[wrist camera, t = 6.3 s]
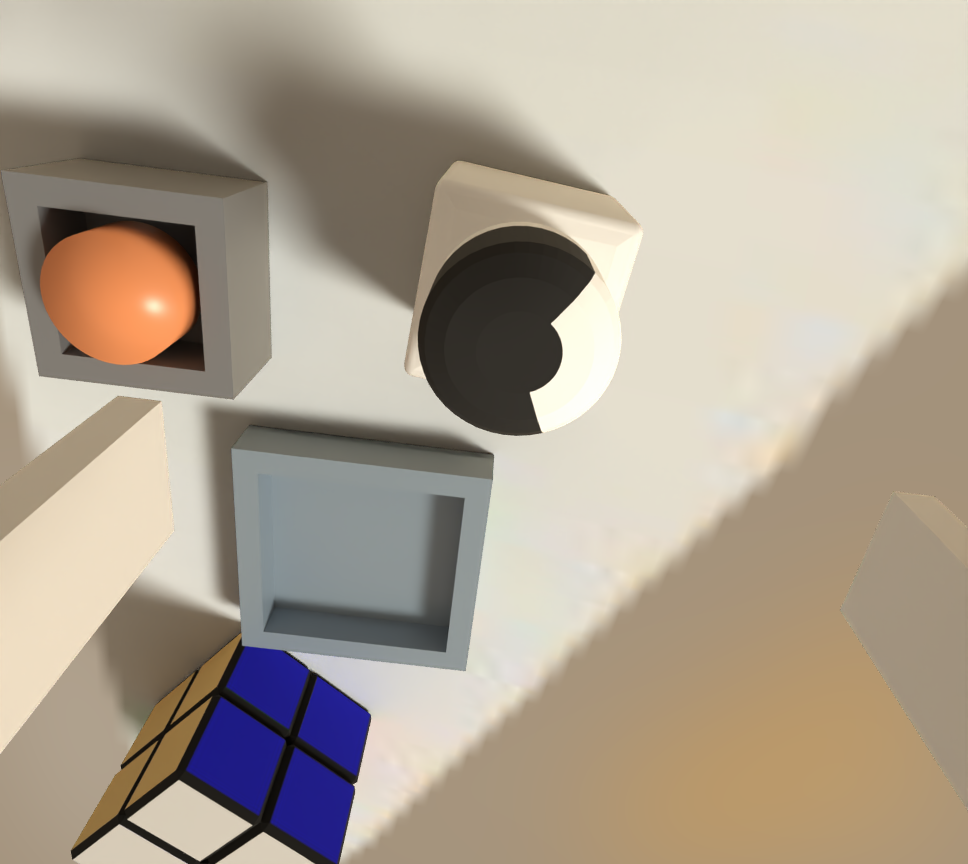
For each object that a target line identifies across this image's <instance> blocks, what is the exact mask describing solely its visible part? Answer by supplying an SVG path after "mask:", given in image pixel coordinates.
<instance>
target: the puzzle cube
mask: <svg viewBox="0 0 968 864" xmlns="http://www.w3.org/2000/svg"><path fill="white" fill-rule="evenodd" d="M370 722H371V714H369V713H368V712H366V711H365V710H364V709H362V708H361V707H360V706H358V705H357V704H355V703H354V702H353V701H351V700H350V699H348V698H347V697H346V696H344V695H343V694H341V693H340V692H339V691H337V690H336V689H335V688H333V687H332V686H330V685H329V684H328V683H326V682H325V681H323V680H322V679H321V678H319V677H318V676H317V675H313V676H310V670H309V669H307V668H306V667H304V666H303V665H302V664H300V663H299V662H297V661H296V660H295V659H293V658H292V657H290V656H289V655H288V654H286V653H285V652H284V651H282V650H276V649H267V648H258V647H249V646H242V633H240V634H239V635H238V636H237V637H235V638H234V639H233V640H232V641H231V642H230V643H228V644H227V645H226V646H225V647H224V648H222V649H221V650H220V651H219V652H218V653H217V654H215V655H214V656H213V657H212V658H211V659H209V660H208V661H207V662H206V663H205V664H204V665H202V667H201V669H200V670H199V671H195V672H194V673H193V674H192V675H190V676H189V677H188V678H187V679H186V680H185V681H183V682H182V683H181V684H180V685H179V686H178V687H176V688H175V689H174V690H173V691H172V692H170V693H169V694H168V695H167V696H166V697H165V698H163V699H162V700H161V701H160V702H159V703H158V704H156V705H155V707H154V709H153V710H152V712H151V714H150V716H149V717H148V719H147V721H146V723H145V724H144V726H143V728H142V729H141V731H140V733H139V735H138V736H137V738H136V740H135V742H134V743H133V745H132V747H131V748H130V750H129V752H128V754H127V755H126V757H125V759H124V761H123V762H122V764H121V769H122V770H121V771H120V772H118V773H117V774H116V775H115V776H114V778H113V780H112V782H111V783H110V785H109V786H108V788H107V790H106V792H105V793H104V795H103V797H102V798H101V800H100V802H99V804H98V805H97V807H96V809H95V810H94V812H93V814H92V816H91V817H90V819H89V821H88V822H87V824H86V826H85V827H84V829H83V831H82V833H81V834H80V836H79V838H78V839H77V841H76V843H75V844H74V846H73V848H72V850H71V854H72V859H73V861H75V862H77V863H79V864H339V862H340V857H341V853H342V848H343V844H344V839H345V835H346V830H347V826H348V821H349V817H350V812H351V808H352V803H353V799H354V795H355V787H354V786H353V784H354V783H356V782H357V780H358V776H359V771H360V767H361V762H362V758H363V753H364V749H365V744H366V740H367V735H368V731H369V726H370Z"/></svg>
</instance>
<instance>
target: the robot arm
mask: <svg viewBox="0 0 968 864" xmlns="http://www.w3.org/2000/svg"><path fill="white" fill-rule="evenodd" d="M173 532H174V523H173V512H172V502H171V492H170V482H169V472H168V462H167V452H166V442H165V431H164V421H163V411H162V401H156V400H148V399H140V398H132V397H124V396H117V397H116V398H114V399H113V400H112V401H110V402H109V403H108V404H106V405H105V406H104V407H103V408H101V409H100V410H99V411H97V412H96V413H95V414H93V415H92V416H91V417H89V418H88V419H87V420H85V421H84V422H83V423H81V424H80V425H79V426H77V427H76V428H75V429H74V430H72V431H71V432H70V433H68V434H67V435H66V436H64V437H63V438H62V439H60V440H59V441H58V442H56V443H55V444H54V445H52V446H51V447H50V448H48V449H47V450H46V451H45V452H43V453H42V454H41V455H39V456H38V457H37V458H35V459H34V460H33V461H31V462H30V463H29V464H27V465H26V466H25V467H23V468H22V469H21V470H19V471H18V472H17V473H16V474H14V475H13V476H12V477H10V478H9V479H8V480H6V481H5V482H4V483H2V484H1V485H0V754H1V752H2V751H3V750H4V748H5V747H6V746H7V744H8V743H9V742H10V741H11V739H12V738H13V737H14V735H15V734H16V733H17V732H18V730H19V729H20V728H21V727H22V725H23V724H24V723H25V721H26V720H27V719H28V718H29V716H30V715H31V714H32V712H33V711H34V710H35V709H36V707H37V706H38V705H39V703H40V702H41V701H42V700H43V698H44V697H45V696H46V695H47V693H48V692H49V690H50V689H51V688H52V687H53V686H54V684H55V683H56V682H57V680H58V679H59V678H60V677H61V675H62V674H63V673H64V671H65V670H66V669H67V667H68V666H69V665H70V664H71V662H72V661H73V660H74V659H75V657H76V656H77V655H78V653H79V652H80V651H81V650H82V648H83V647H84V646H85V644H86V643H87V642H88V641H89V639H90V638H91V637H92V635H93V634H94V633H95V632H96V630H97V629H98V628H99V627H100V625H101V624H102V623H103V621H104V620H105V619H106V618H107V616H108V615H109V614H110V612H111V611H112V610H113V609H114V607H115V606H116V605H117V603H118V602H119V601H120V600H121V598H122V597H123V596H124V594H125V593H126V592H127V591H128V589H129V588H130V587H131V585H132V584H133V583H134V582H135V580H136V579H137V578H138V576H139V575H140V574H141V573H142V571H143V570H144V569H145V567H146V566H147V565H148V564H149V562H150V561H151V560H152V559H153V557H154V556H155V555H156V553H157V552H158V551H159V550H160V548H161V547H162V546H163V544H164V543H165V542H166V541H167V539H168V538H169V537H170V535H171V534H172V533H173ZM840 611H841V613H842V614H843V616H844V617H845V619H846V621H847V622H848V624H849V625H850V627H851V628H852V630H853V632H854V633H855V635H856V636H857V638H858V639H859V641H860V643H861V644H862V646H863V647H864V649H865V650H866V652H867V654H868V655H869V657H870V658H871V660H872V661H873V663H874V665H875V666H876V668H877V669H878V671H879V672H880V674H881V676H882V677H883V678H884V680H885V682H886V683H887V685H888V686H889V688H890V690H891V691H892V693H893V694H894V696H895V698H896V699H897V701H898V702H899V704H900V705H901V707H902V708H903V710H904V712H905V713H906V715H907V716H908V718H909V720H910V721H911V723H912V724H913V726H914V727H915V729H916V731H917V732H918V734H919V735H920V737H921V738H922V740H923V742H924V743H925V745H926V746H927V748H928V749H929V751H930V753H931V754H932V756H933V757H934V759H935V760H936V762H937V764H938V765H939V767H940V768H941V769H942V771H943V773H944V775H945V776H946V778H947V779H948V781H949V782H950V784H951V786H952V787H953V789H954V790H955V792H956V793H957V795H958V797H959V798H960V800H961V801H962V803H963V804H964V806H965V807H966V809H967V811H968V528H967V526H966V525H965V524H964V523H962V522H961V521H960V520H959V519H958V518H957V517H956V516H955V515H954V514H953V513H952V512H951V511H950V510H949V509H948V508H947V507H946V506H945V505H944V504H942V503H941V502H940V501H939V500H938V499H937V498H936V497H935V496H928V495H920V494H912V493H903V492H896V491H893V492H892V495H891V497H890V499H889V501H888V504H887V506H886V508H885V510H884V513H883V515H882V517H881V519H880V521H879V524H878V526H877V528H876V530H875V533H874V535H873V537H872V540H871V542H870V544H869V546H868V548H867V550H866V553H865V555H864V557H863V559H862V562H861V564H860V566H859V568H858V571H857V573H856V575H855V577H854V580H853V582H852V584H851V586H850V588H849V591H848V593H847V595H846V597H845V600H844V602H843V604H842V606H841V609H840Z"/></svg>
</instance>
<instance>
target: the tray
mask: <svg viewBox="0 0 968 864" xmlns="http://www.w3.org/2000/svg"><path fill="white" fill-rule="evenodd" d="M231 453H232V471H233V489H234V507H235V525H236V543H237V561H238V579H239V597H240V615H241V633H242V646H249V647H258V648H267V649H276V650H284V651H293V652H302V653H311V654H320V655H328V656H337V657H346V658H355V659H363V660H372V661H381V662H390V663H398V664H407V665H416V666H425V667H434V668H442V669H451V670H460V671H466V665H467V658H468V650H469V643H470V636H471V629H472V622H473V615H474V608H475V601H476V594H477V587H478V580H479V573H480V566H481V559H482V552H483V545H484V537H485V530H486V523H487V516H488V509H489V502H490V495H491V488H492V481H493V463H494V455H493V454H484V453H476V452H468V451H459V450H451V449H443V448H434V447H426V446H418V445H409V444H401V443H393V442H384V441H376V440H368V439H359V438H351V437H343V436H334V435H326V434H318V433H309V432H301V431H293V430H284V429H276V428H268V427H259V426H251V425H249V427H248V428H247V429H246V430H245V432H244V433H243V434H242V435H241V437H240V438H239V439H238V440H237V442H236V443H235V444H234V446H233V447H232V448H231Z"/></svg>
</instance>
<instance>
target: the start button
mask: <svg viewBox="0 0 968 864" xmlns="http://www.w3.org/2000/svg"><path fill="white" fill-rule="evenodd" d="M40 290H41V296H42V300H43V303H44V306H45V309H46V311H47V313H48V315H49V317H50V319H51V321H52V322H53V324H54V325H55V327H56V328H57V329H58V330H59V332H60V333H61V334H62V335H63V336H64V337H65V338H66V339H67V340H68V341H69V342H70V343H71V344H72V345H74V346H75V347H76V348H78V349H79V350H81V351H82V352H84V353H85V354H87V355H89V356H91V357H93V358H95V359H98V360H100V361H104V362H107V363H112V364H118V365H132V364H138V363H142V362H145V361H148V360H150V359H152V358H154V357H155V356H157V355H158V354H159V353H161V352H162V351H163V350H165V349H166V348H167V347H169V346H170V345H172V344H173V343H174V342H176V341H177V340H178V339H180V338H181V337H182V336H184V335H185V334H186V333H188V332H189V331H190V330H191V329H192V328H193V326H194V325H195V324H196V322H197V320H198V318H199V316H200V314H201V305H200V291H199V277H198V269H197V267H196V265H195V264H194V262H193V260H192V258H191V257H190V256H189V254H188V253H187V251H186V250H185V249H184V248H183V247H182V246H181V245H180V244H179V243H178V242H177V241H176V240H175V239H174V238H172V237H171V236H170V235H168V234H167V233H165V232H164V231H162V230H160V229H158V228H156V227H154V226H152V225H149V224H145V223H142V222H137V221H117V222H112V223H109V224H106V225H103V226H99V227H96V228H93V229H90V230H87V231H84V232H81V233H78V234H75V235H72V236H70V237H67V238H65V239H63V240H62V241H60V242H59V243H57V244H56V245H55V246H54V247H53V248H52V249H51V251H50V252H49V253H48V255H47V256H46V258H45V260H44V263H43V266H42V269H41V274H40Z"/></svg>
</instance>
